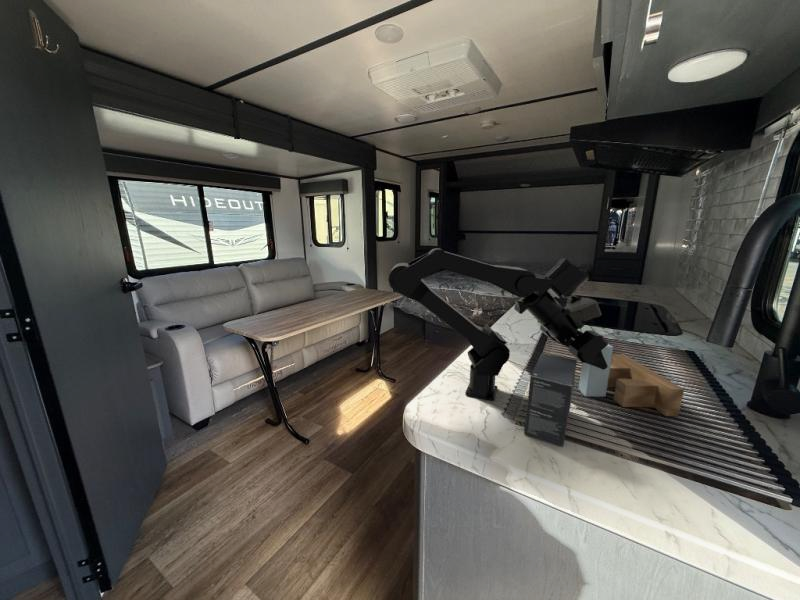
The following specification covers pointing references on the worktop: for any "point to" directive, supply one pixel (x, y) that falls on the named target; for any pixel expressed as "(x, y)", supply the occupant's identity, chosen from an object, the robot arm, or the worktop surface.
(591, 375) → the post
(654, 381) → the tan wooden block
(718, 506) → the worktop surface
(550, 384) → the small box
